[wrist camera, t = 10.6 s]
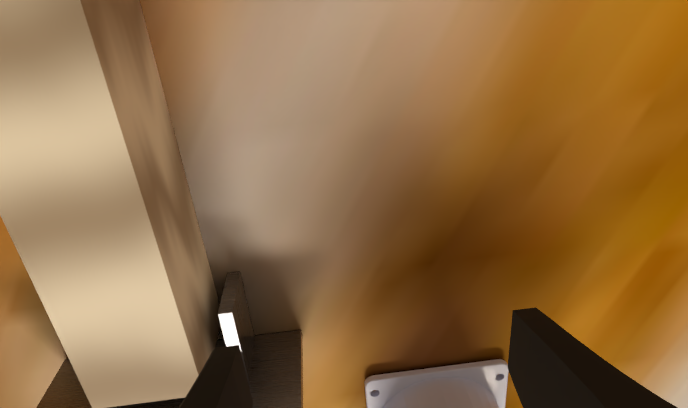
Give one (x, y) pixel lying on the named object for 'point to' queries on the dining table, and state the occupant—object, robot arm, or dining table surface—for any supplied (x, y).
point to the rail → (102, 199)
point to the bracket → (257, 351)
